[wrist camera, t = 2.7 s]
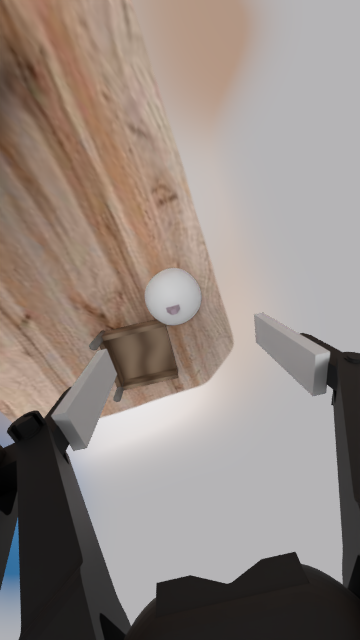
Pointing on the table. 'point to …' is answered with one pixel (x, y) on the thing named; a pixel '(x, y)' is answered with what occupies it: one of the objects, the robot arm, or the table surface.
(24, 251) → the table surface
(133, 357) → the keeper
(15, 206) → the table surface
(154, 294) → the ornament
